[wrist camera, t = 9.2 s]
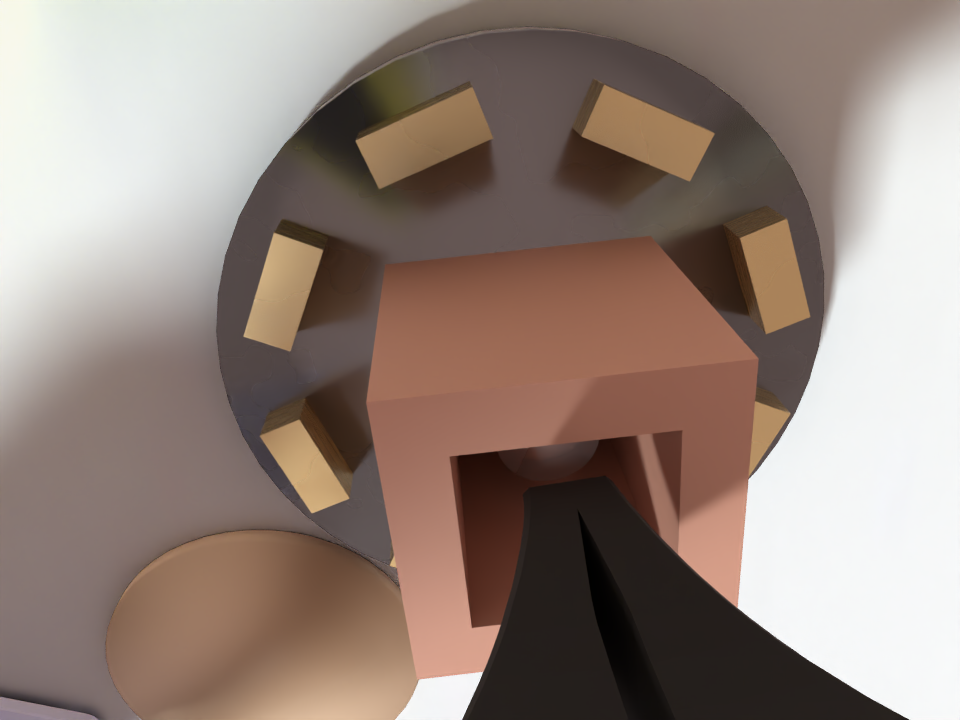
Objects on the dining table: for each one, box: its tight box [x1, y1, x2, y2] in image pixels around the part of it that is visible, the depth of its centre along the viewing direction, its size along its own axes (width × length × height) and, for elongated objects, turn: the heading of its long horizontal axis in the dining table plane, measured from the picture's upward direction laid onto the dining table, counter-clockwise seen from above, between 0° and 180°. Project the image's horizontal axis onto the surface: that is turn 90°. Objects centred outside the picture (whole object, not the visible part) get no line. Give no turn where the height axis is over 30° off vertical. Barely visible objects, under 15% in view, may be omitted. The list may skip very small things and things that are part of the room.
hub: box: [216, 27, 824, 567], centre depth 17 cm, size 14×14×4 cm
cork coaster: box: [105, 530, 418, 720], centre depth 22 cm, size 9×9×1 cm
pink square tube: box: [366, 236, 759, 679], centre depth 15 cm, size 6×6×6 cm
